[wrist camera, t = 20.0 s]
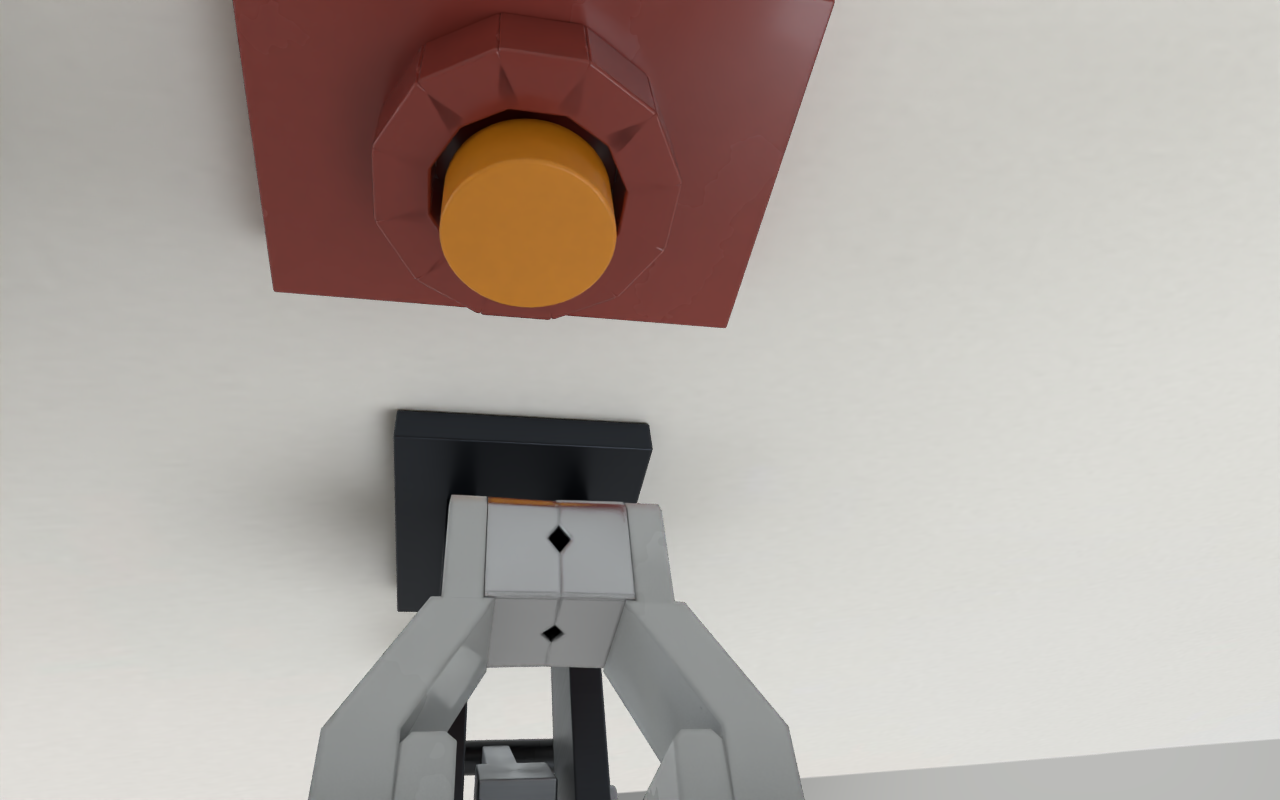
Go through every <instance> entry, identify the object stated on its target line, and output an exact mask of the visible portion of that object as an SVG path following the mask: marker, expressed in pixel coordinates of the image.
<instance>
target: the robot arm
mask: <svg viewBox="0 0 1280 800" xmlns="http://www.w3.org/2000/svg"><path fill="white" fill-rule="evenodd" d="M539 666H549V667H580V668H604V670H603V672H604V673H605V675H606V676H607V678H608V679H609V681H610V683H611V684H612V686H613V687H614V689H615V691H616V692H617V694H618V695H619V697H620V699H621V700H622V702H623V703H624V705H625V707H626V708H627V710H628V711H629V713H630V714H631V716H632V718H633V719H634V721H635V722H636V724H637V726H638V727H639V729H640V730H641V732H642V734H643V735H644V737H645V738H646V740H647V742H648V743H649V745H650V746H651V748H652V749H653V751H654V753H655V754H656V756H657V757H658V759H659V761H660V762H661V764H660V766H659V768H658V770H657V772H656V774H655V776H654V778H653V780H652V782H651V784H650V786H649V788H648V790H647V792H646V794H645V796H644V798H643V800H805V799H804V795H803V790H802V785H801V781H800V776H799V772H798V767H797V763H796V758H795V754H794V749H793V744H792V740H791V735H790V731H789V726H788V725H787V724H786V723H785V721H784V720H783V719H782V718H781V717H780V716H779V714H778V713H777V712H776V711H775V710H774V708H773V707H772V706H771V705H770V704H769V702H768V701H767V700H766V699H765V698H764V696H763V695H762V694H761V693H760V692H759V690H758V689H757V688H756V687H755V686H754V684H753V683H752V682H751V681H750V680H749V678H748V677H747V676H746V675H745V674H744V673H743V671H742V670H741V669H740V668H739V667H738V665H737V664H736V663H735V662H734V661H733V659H732V658H731V657H730V656H729V655H728V653H727V652H726V651H725V650H724V649H723V647H722V646H721V645H720V644H719V643H718V641H717V640H716V639H715V638H714V637H713V635H712V634H711V633H710V632H709V631H708V630H707V628H706V627H705V626H704V625H703V624H702V622H701V621H700V620H699V619H698V618H697V616H696V615H695V614H694V613H693V612H692V610H691V609H690V608H689V607H688V606H687V604H686V603H685V602H675V600H674V593H673V586H672V579H671V572H670V565H669V558H668V551H667V544H666V537H665V530H664V523H663V516H662V510H661V509H660V507H659V505H658V504H640V503H624V504H623V502H608V501H576V500H556V501H544V500H530V499H515V498H501V497H488V499H487V496H468V495H451V499H450V503H449V512H448V524H447V535H446V547H445V559H444V571H443V583H442V595H441V596H432V597H430V598H429V599H428V600H427V602H426V603H425V604H424V605H423V606H422V608H421V609H420V610H419V611H418V612H417V614H416V615H415V616H414V617H413V618H412V620H411V621H410V622H409V623H408V625H407V626H406V627H405V628H404V629H403V631H402V632H401V633H400V634H399V635H398V637H397V638H396V639H395V640H394V641H393V643H392V644H391V645H390V646H389V647H388V649H387V650H386V651H385V652H384V653H383V655H382V656H381V657H380V658H379V660H378V661H377V662H376V663H375V664H374V666H373V667H372V668H371V669H370V670H369V672H368V673H367V674H366V675H365V676H364V678H363V679H362V680H361V681H360V682H359V684H358V685H357V686H356V687H355V688H354V690H353V691H352V692H351V693H350V695H349V696H348V697H347V698H346V699H345V701H344V702H343V703H342V704H341V705H340V707H339V708H338V709H337V710H336V711H335V713H334V714H333V715H332V716H331V717H330V719H329V720H328V721H327V722H326V724H325V725H324V726H323V727H322V728H321V732H320V737H319V743H318V748H317V754H316V759H315V765H314V770H313V776H312V781H311V787H310V792H309V797H308V800H454V787H455V767H456V748H457V741H456V740H455V739H454V738H453V737H452V736H451V735H449V734H448V733H447V732H448V730H449V728H450V727H451V725H452V724H453V722H454V721H455V719H456V718H457V716H458V714H459V713H460V711H461V710H462V708H463V707H464V705H465V704H466V702H467V700H468V699H469V697H470V696H471V694H472V693H473V691H474V690H475V688H476V687H477V685H478V683H479V682H480V680H481V679H482V677H483V676H484V674H485V673H486V669H487V668H490V667H539Z"/></svg>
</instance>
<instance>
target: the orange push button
mask: <svg viewBox="0 0 1280 800" xmlns="http://www.w3.org/2000/svg"><path fill="white" fill-rule="evenodd" d="M439 237H440V243H441V248H442V251H443V253H444V256H445V258H446V260H447V262H448V264H449V266H450V267H451V269H452V270H453V271H454V273H455V274H456V275H457V276H458V278H459V279H460V280H461V281H462V282H463V283H464V284H466V285H467V286H468V287H469V288H471V289H472V290H473V291H475V292H477V293H478V294H480V295H482V296H484V297H486V298H488V299H490V300H492V301H495V302H498V303H501V304H505V305H510V306H516V307H530V308H533V307H544V306H550V305H555V304H558V303H562V302H565V301H567V300H569V299H572V298H574V297H576V296H578V295H579V294H581V293H583V292H584V291H586V290H587V289H588V288H590V287H591V286H592V285H593V284H594V283H595V282H596V281H597V280H598V279H599V278H600V277H601V275H602V274H603V273H604V271H605V270H606V268H607V267H608V265H609V263H610V261H611V259H612V256H613V253H614V250H615V246H616V238H617V233H616V222H615V215H614V208H613V201H612V194H611V188H610V182H609V177H608V174H607V171H606V168H605V166H604V164H603V162H602V160H601V159H600V157H599V156H598V154H597V153H596V151H595V150H594V149H593V148H592V147H591V146H590V145H589V144H588V143H587V142H586V141H585V140H584V139H582V138H581V137H580V136H579V135H577V134H575V133H574V132H572V131H571V130H569V129H567V128H565V127H562V126H560V125H558V124H555V123H552V122H549V121H544V120H538V119H527V118H524V119H511V120H506V121H501V122H498V123H495V124H492V125H490V126H488V127H485V128H483V129H481V130H480V131H478V132H477V133H475V134H473V135H472V136H471V137H470V138H468V139H467V140H466V141H465V142H464V143H463V144H462V145H461V146H460V147H459V149H458V150H457V151H456V153H455V154H454V156H453V157H452V159H451V161H450V163H449V166H448V168H447V172H446V175H445V181H444V190H443V199H442V207H441V216H440V225H439Z"/></svg>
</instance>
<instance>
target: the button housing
mask: <svg viewBox="0 0 1280 800" xmlns="http://www.w3.org/2000/svg"><path fill="white" fill-rule="evenodd" d="M232 1H233V8H234V15H235V22H236V29H237V36H238V44H239V51H240V58H241V65H242V72H243V79H244V86H245V93H246V100H247V107H248V114H249V121H250V129H251V136H252V143H253V150H254V157H255V164H256V171H257V178H258V185H259V192H260V199H261V206H262V214H263V221H264V228H265V235H266V242H267V249H268V256H269V263H270V270H271V277H272V284H273V290H274V291H275V292H283V293H296V294H308V295H320V296H333V297H345V298H358V299H370V300H382V301H395V302H407V303H420V304H432V305H444V306H457V307H467V308H469V309H471V310H472V311H474V312H476V313H480V312H481V314H483V315H494V316H507V317H520V318H532V319H545V320H549V319H551V318H552V319H556V318H559V317H562V316H565V315H568V316H581V317H593V318H605V319H618V320H630V321H643V322H655V323H667V324H680V325H692V326H705V327H717V328H726V327H727V324H728V321H729V318H730V315H731V312H732V309H733V306H734V303H735V300H736V297H737V294H738V291H739V288H740V285H741V282H742V279H743V276H744V273H745V270H746V267H747V264H748V261H749V258H750V255H751V252H752V249H753V246H754V243H755V240H756V237H757V234H758V231H759V228H760V225H761V222H762V219H763V216H764V213H765V210H766V207H767V204H768V201H769V198H770V195H771V192H772V189H773V186H774V183H775V180H776V177H777V174H778V171H779V168H780V165H781V162H782V159H783V156H784V153H785V150H786V147H787V144H788V141H789V138H790V135H791V132H792V129H793V126H794V123H795V120H796V117H797V114H798V111H799V108H800V105H801V102H802V99H803V96H804V93H805V90H806V87H807V84H808V81H809V78H810V75H811V72H812V69H813V66H814V63H815V60H816V57H817V54H818V51H819V48H820V45H821V42H822V39H823V36H824V33H825V30H826V27H827V24H828V21H829V18H830V15H831V12H832V9H833V6H834V3H835V0H232ZM524 118H527V119H538V120H544V121H549V122H552V123H555V124H558V125H560V126H562V127H565V128H567V129H569V130H571V131H572V132H574V133H575V134H577V135H579V136H580V137H581V138H582V139H584V140H585V141H586V142H587V143H588V144H589V145H590V146H591V147H592V148H593V149H594V150H595V151H596V153H597V154H598V156H599V157H600V159H601V160H602V162H603V164H604V166H605V168H606V171H607V174H608V177H609V182H610V188H611V194H612V201H613V208H614V215H615V222H616V233H617V238H616V246H615V250H614V253H613V256H612V259H611V261H610V263H609V265H608V267H607V268H606V270H605V271H604V273H603V274H602V275H601V277H600V278H599V279H598V280H597V281H596V282H595V283H594V284H593V285H592V286H591V287H590V288H588V289H587V290H586V291H584V292H583V293H581V294H579V295H578V296H576V297H574V298H572V299H569V300H567V301H565V302H562V303H558V304H555V305H550V306H544V307H533V308H530V307H516V306H510V305H505V304H501V303H498V302H495V301H492V300H490V299H488V298H486V297H484V296H482V295H480V294H478V293H477V292H475V291H473V290H472V289H471V288H469V287H468V286H467V285H466V284H464V283H463V282H462V281H461V280H460V279H459V278H458V276H457V275H456V274H455V273H454V271H453V270H452V269H451V267H450V266H449V264H448V262H447V260H446V258H445V256H444V253H443V251H442V248H441V243H440V237H439V225H440V216H441V207H442V199H443V190H444V181H445V175H446V172H447V168H448V166H449V163H450V161H451V159H452V157H453V156H454V154H455V153H456V151H457V150H458V149H459V147H460V146H461V145H462V144H463V143H464V142H465V141H466V140H467V139H468V138H470V137H471V136H472V135H473V134H475V133H477V132H478V131H480V130H481V129H483V128H485V127H488V126H490V125H492V124H495V123H498V122H501V121H506V120H511V119H524Z"/></svg>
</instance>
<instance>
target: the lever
mask: <svg viewBox="0 0 1280 800" xmlns="http://www.w3.org/2000/svg"><path fill="white" fill-rule="evenodd" d="M464 775H475V787H474V800H557V786H558V780H557V777H556V776H555V775H554V749H553V739H516V740H469V741H466V743H465V766H464Z"/></svg>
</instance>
